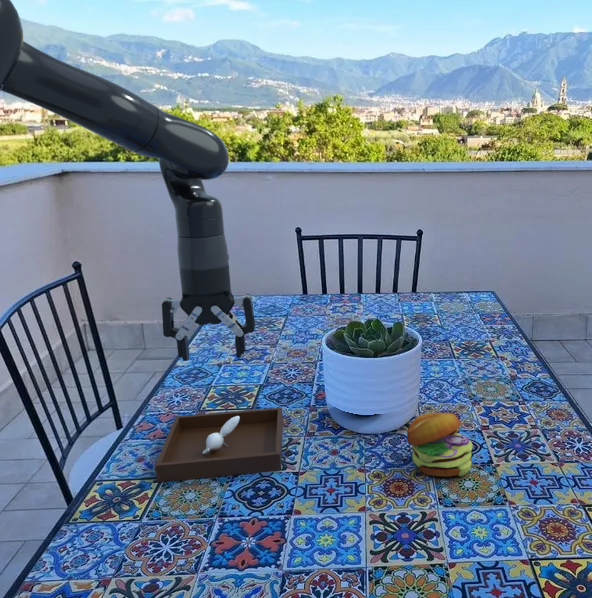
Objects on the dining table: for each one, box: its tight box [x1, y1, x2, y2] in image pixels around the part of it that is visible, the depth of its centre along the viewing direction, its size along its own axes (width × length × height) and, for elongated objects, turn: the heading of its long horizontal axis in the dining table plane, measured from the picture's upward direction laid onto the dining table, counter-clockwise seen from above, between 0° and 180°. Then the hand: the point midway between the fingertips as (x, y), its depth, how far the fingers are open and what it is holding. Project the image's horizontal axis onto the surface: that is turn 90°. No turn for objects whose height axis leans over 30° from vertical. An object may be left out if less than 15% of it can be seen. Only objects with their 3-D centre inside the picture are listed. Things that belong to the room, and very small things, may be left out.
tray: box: [154, 406, 284, 484], centre depth 99 cm, size 20×17×3 cm
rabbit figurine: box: [202, 416, 240, 454], centre depth 98 cm, size 6×4×8 cm
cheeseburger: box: [406, 412, 474, 478], centre depth 94 cm, size 10×11×10 cm
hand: (213, 357), depth 94 cm, fingers open, 8 cm apart
